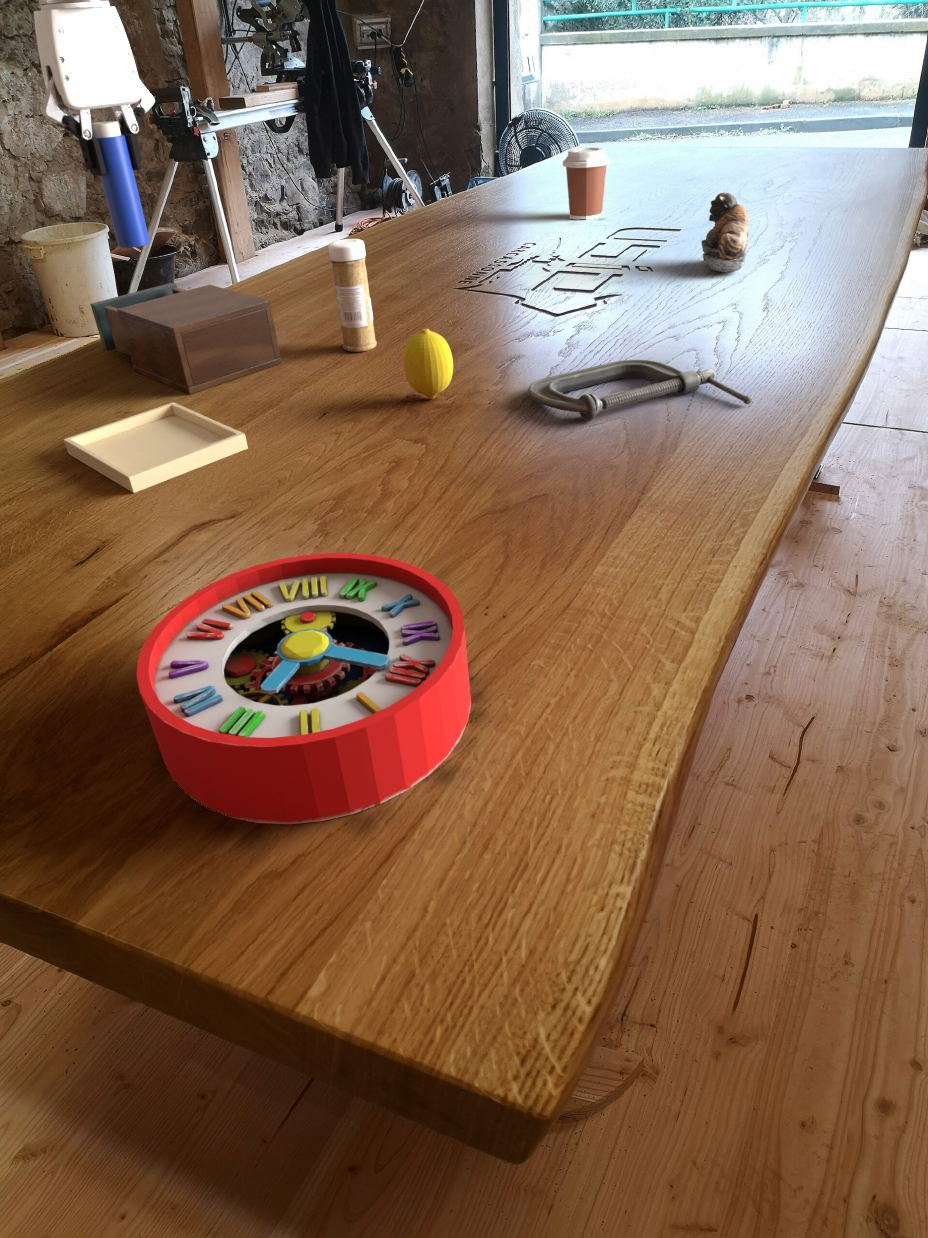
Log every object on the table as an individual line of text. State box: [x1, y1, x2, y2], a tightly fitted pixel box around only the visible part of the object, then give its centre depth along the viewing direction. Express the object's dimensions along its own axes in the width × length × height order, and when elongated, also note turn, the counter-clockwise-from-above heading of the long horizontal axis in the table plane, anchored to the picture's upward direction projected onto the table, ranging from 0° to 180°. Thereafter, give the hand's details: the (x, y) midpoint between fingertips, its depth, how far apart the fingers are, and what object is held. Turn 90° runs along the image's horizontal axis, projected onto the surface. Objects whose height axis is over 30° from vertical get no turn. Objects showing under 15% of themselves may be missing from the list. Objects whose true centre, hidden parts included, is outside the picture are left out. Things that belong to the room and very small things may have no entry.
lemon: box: [403, 328, 454, 400], centre depth 101 cm, size 6×6×8 cm
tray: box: [63, 401, 249, 494], centre depth 95 cm, size 15×13×2 cm
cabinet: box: [117, 284, 282, 395], centre depth 116 cm, size 15×14×8 cm
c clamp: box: [527, 359, 753, 422], centre depth 98 cm, size 20×17×3 cm
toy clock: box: [135, 552, 472, 825], centre depth 57 cm, size 20×6×20 cm
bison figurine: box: [701, 191, 749, 273], centre depth 139 cm, size 12×7×10 cm, turn 175°
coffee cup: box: [562, 146, 611, 221], centre depth 177 cm, size 9×9×12 cm
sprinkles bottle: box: [327, 238, 377, 353], centre depth 117 cm, size 5×5×14 cm
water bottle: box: [91, 120, 151, 249], centre depth 113 cm, size 4×4×14 cm
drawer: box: [90, 282, 187, 356], centre depth 123 cm, size 18×12×6 cm
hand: (115, 170), depth 112 cm, fingers closed on water bottle, 4 cm apart
